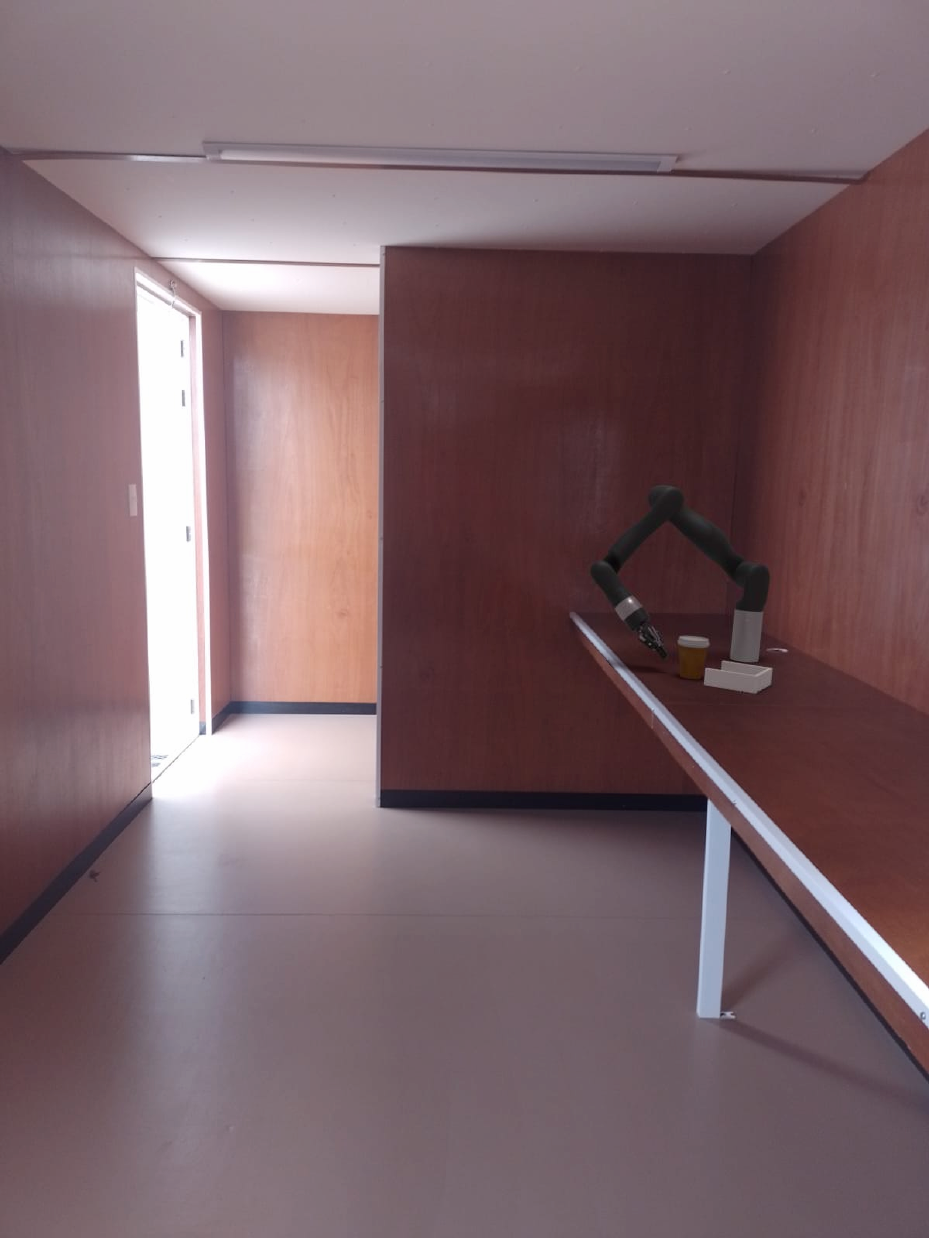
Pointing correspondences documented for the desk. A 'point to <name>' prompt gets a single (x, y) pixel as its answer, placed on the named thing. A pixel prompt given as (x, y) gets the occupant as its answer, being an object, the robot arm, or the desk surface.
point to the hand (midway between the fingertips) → (666, 657)
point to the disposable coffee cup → (692, 656)
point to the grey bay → (739, 677)
